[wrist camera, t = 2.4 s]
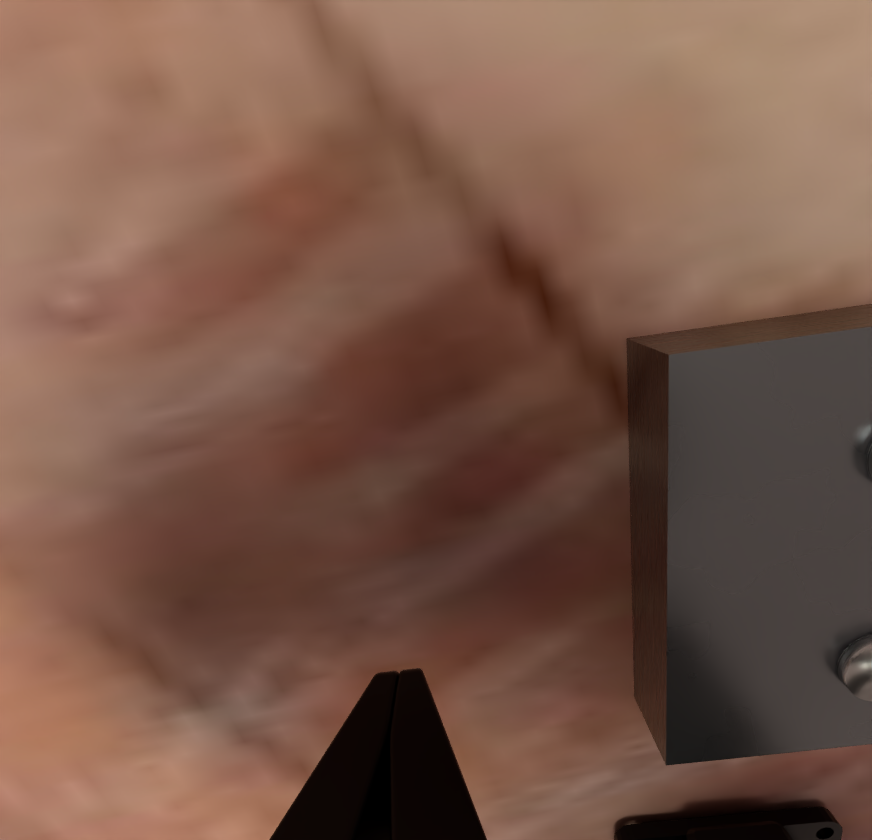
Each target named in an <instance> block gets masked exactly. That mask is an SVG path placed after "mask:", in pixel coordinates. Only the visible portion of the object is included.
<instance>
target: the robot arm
mask: <svg viewBox="0 0 872 840" xmlns="http://www.w3.org/2000/svg"><path fill="white" fill-rule="evenodd" d="M841 837H842V827H841V825H840V824H839V823H838V821H837V820H836V819H835V817H834V816H833V814H832V813H831V812H830V811H829V810H828V809H827V808H824V807H809V808H799V809H788V810H778V811H767V812H757V813H746V814H736V815H725V816H715V817H704V818H694V819H683V820H673V821H662V822H652V823H641V824H631V825H626V826H623V827H621V828H620V829H618V830H617V832H616V833H615V836H614V840H841ZM270 840H487V838H486V836H485V833H484V830H483V828H482V825H481V823H480V820H479V817H478V815H477V812H476V809H475V807H474V804H473V802H472V799H471V796H470V794H469V791H468V788H467V786H466V783H465V781H464V778H463V775H462V773H461V770H460V767H459V765H458V762H457V760H456V757H455V754H454V752H453V749H452V746H451V744H450V741H449V739H448V736H447V733H446V731H445V728H444V726H443V723H442V720H441V718H440V715H439V712H438V710H437V707H436V705H435V702H434V699H433V697H432V694H431V691H430V689H429V686H428V684H427V681H426V678H425V676H424V673H423V671H422V670H421V669H420V668H416V669H407V670H402V671H400V673H398V672H397V671H389V672H380V673H377V674H376V675H375V676H374V677H373V679H372V680H371V682H370V683H369V685H368V686H367V688H366V690H365V691H364V693H363V694H362V696H361V697H360V699H359V701H358V702H357V704H356V705H355V707H354V708H353V710H352V711H351V713H350V715H349V716H348V718H347V719H346V721H345V722H344V724H343V726H342V727H341V729H340V730H339V732H338V733H337V735H336V736H335V738H334V740H333V741H332V743H331V744H330V746H329V747H328V749H327V751H326V752H325V754H324V755H323V757H322V758H321V760H320V761H319V763H318V765H317V766H316V768H315V769H314V771H313V772H312V774H311V776H310V777H309V779H308V780H307V782H306V783H305V785H304V786H303V788H302V790H301V791H300V793H299V794H298V796H297V797H296V799H295V801H294V802H293V804H292V805H291V807H290V808H289V810H288V811H287V813H286V815H285V816H284V818H283V819H282V821H281V822H280V824H279V826H278V827H277V829H276V830H275V832H274V833H273V835H272V836H271V838H270Z"/></svg>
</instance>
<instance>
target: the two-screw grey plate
mask: <svg viewBox="0 0 872 840" xmlns="http://www.w3.org/2000/svg"><path fill="white" fill-rule="evenodd" d="M627 375H628V423H629V470H630V517H631V565H632V612H633V660H634V697H635V699H636V701H637V704H638V706H639V708H640V710H641V712H642V714H643V717H644V719H645V721H646V723H647V725H648V727H649V730H650V732H651V734H652V736H653V738H654V740H655V743H656V745H657V747H658V749H659V751H660V753H661V756H662V758H663V760H664V762H665V764H666V765H674V764H684V763H693V762H703V761H713V760H722V759H732V758H741V757H751V756H761V755H770V754H780V753H789V752H799V751H809V750H818V749H828V748H837V747H847V746H857V745H866V744H872V304H868V305H861V306H853V307H846V308H839V309H832V310H825V311H818V312H811V313H804V314H797V315H790V316H783V317H776V318H769V319H761V320H754V321H747V322H740V323H733V324H726V325H719V326H712V327H705V328H698V329H691V330H684V331H676V332H669V333H662V334H655V335H648V336H641V337H634V338H627Z"/></svg>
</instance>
